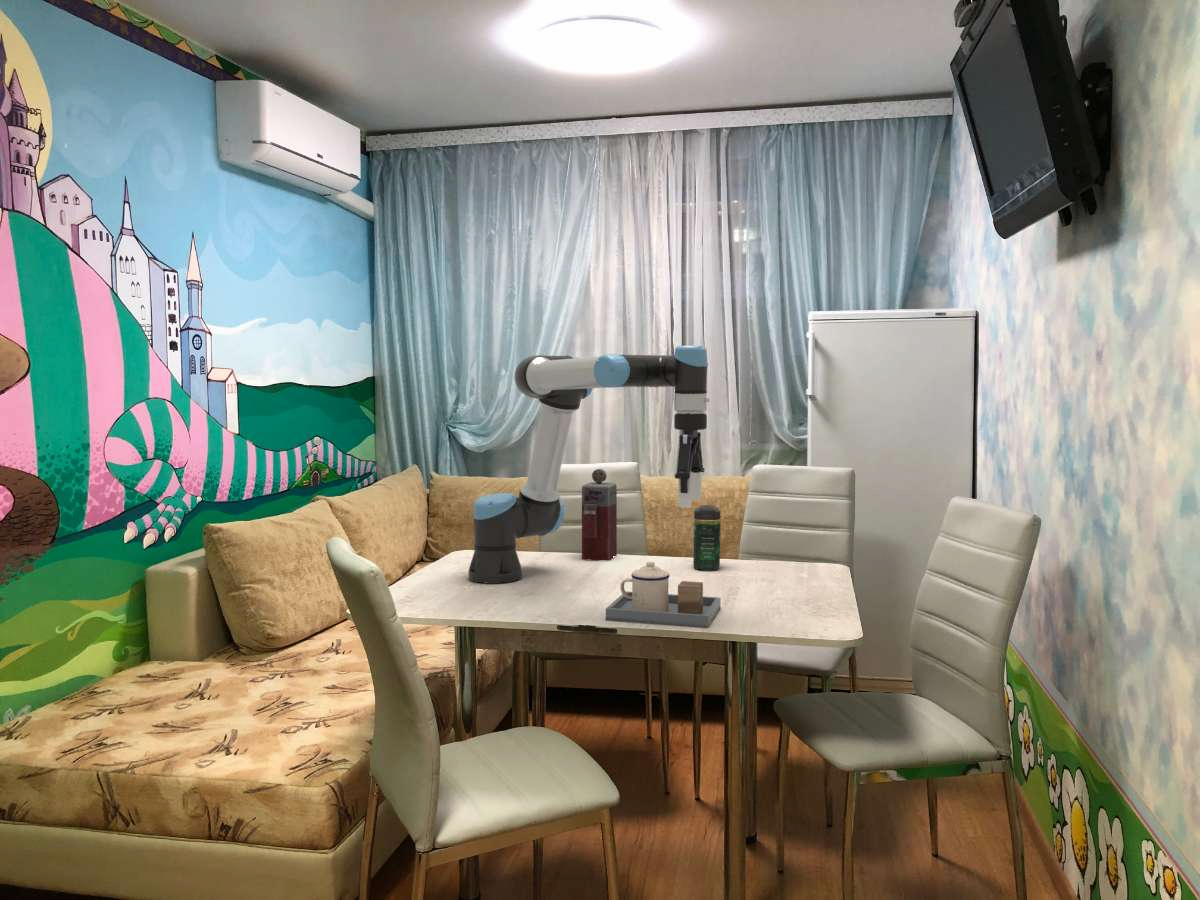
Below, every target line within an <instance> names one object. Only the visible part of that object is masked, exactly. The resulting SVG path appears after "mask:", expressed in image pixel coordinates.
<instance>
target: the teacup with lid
mask: <svg viewBox="0 0 1200 900" xmlns="http://www.w3.org/2000/svg"><path fill="white" fill-rule="evenodd" d="M669 578H670V573H669V572H668V571H667V570H665V569H662V568H661V567H659V566H656V564H655V562H654V561H647V562H646V563H645V565H644V566H642V567H640V568H639V569H638V568H637V569H635V570H633V571H632V572H631V577H630V578H629V577H627V578H624V579H622V581H620V586H619V587H620V593H621V595H622V594H623V595H624V596H625V597H626V598H628V599H632V609H633V610H645V611H659V612H667V611H668V594H669ZM627 582H629V583H631V585H632V589H631V592H632V596H630V595H628V594H627V593H626V592H625V591H626V590H625V583H627Z"/></svg>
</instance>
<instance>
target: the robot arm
mask: <svg viewBox="0 0 1200 900" xmlns="http://www.w3.org/2000/svg"><path fill="white" fill-rule="evenodd" d="M707 351H708V350H707V348H706V347H705V346H703V345H678V346H675V348H674V353H673V354H671V355H669V354H668V355H665V354H664V355H663V354H662V355H661V354H659V355H656V354H618V353H609V354H601V355H599V356H597V355H596V356H587V357H581V356H580V357H579V356H573V355H572V356H571V355H570V354H569V355H539V354H538V355H531V356H528V357H526V358H524V359H522V360H521V361H520V362H519V363H518V364H517V366H516V368H515V372H514V382H515V385H516V387H517V389H518V390H519V391H520V393H522V394H523V395H524V396H526V397H528V398H531V399H535V400H537V399H538V402H539V404H540V405H541V406H542V407H541V412H540V417H539V421H538V426H537V431H536V437H535V441H534V446H533V450H532V455H531V459H530V460H531V461H530V465H529V470H528V475H527V480H526V483H524V484H523V485H521V486H520V488H519V493H518V496H516V495H515V494H513V493H510V492H509V493H508V492H501V493H493V494H488V495H484V496H481V497H479V498H477V499H476V500H475V502H474V505H473V513H472V516H473V541H474V542H473V543H474V544H473V545H474V546H473V547H474V548H473V549H474V550H473V554H472V558H471V560H470V564H469V566H468V567H469V568H468V575H467V576H468V577H467V579H468V578H469V579H470V580H469V579H468V580H469V581H471V580H473V581H477V582H476V583H478V582H487V583H486V584H503V583H502V582H507V583H512V582H511V581H513V582H517V581H519V580H522V578H523V568H522V564H521V561H520V559H519V556H518V553H517V543H516V542H517V539H523V538H530V537H537V536H539V537H543V536H546V535H550V534H553V533H555V532H556V531H557V530H558V529H560V527H561V526H562V524H563V521H564V518H565V509H564V506H565V505H564V502H563V500H562V498H561V497H560V496H561V495H560V494H561V493H560V492H559V491H558V490H557V487H558V486H557V485H558V481H559V476H560V474H561V473H560V472H561V467H562V464H563V460H564V459H563V458H564V454H565V449H566V445H567V441H568V435H569V431H570V426H571V421H572V418H573V413H574V412H576V411H577V410H579V409H580V407H581V403H582V400H584V399H586V398H588V397H589V396H590V395H591V394H592V391H593V389H601V388H603V389H604V388H605V389H606V388H609V389H610V388H634V387H635V388H646V387H647V388H660V387H661V388H662V387H663V388H664V387H665V388H667V387H674V395H673V397H674V399H673V403H674V405H673V407H674V408H673V410H674V411H675V412H676V413H675V414H674V416H673V417H674V423H673V424H674V425H673V426H674V429H675V430H678V431H679V430H680V431H683V434H680V435H679V446H678V447H679V448H678V458H677V466H676V467H677V468H676V473H675V474H674V478H675V479H678V501H677V502H678V504H677V505H678V506H677V507H678V508H691V506H692V505H691V503H692V500H693V501H697V500H698V501H701V500H702V473H705V467H704V466H703V454H702V442H701V438H702V437H701V435H702V432H701V431H702V430H703V431H704V430H706V429H707V428H708V415H707V414H706V413H705V412H706V411H707V405H708V403H709V402H710V398H709V397H708V395H707V394H708V366H709V362H708V352H707ZM516 580H517V581H516ZM473 581H472V582H473Z"/></svg>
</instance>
